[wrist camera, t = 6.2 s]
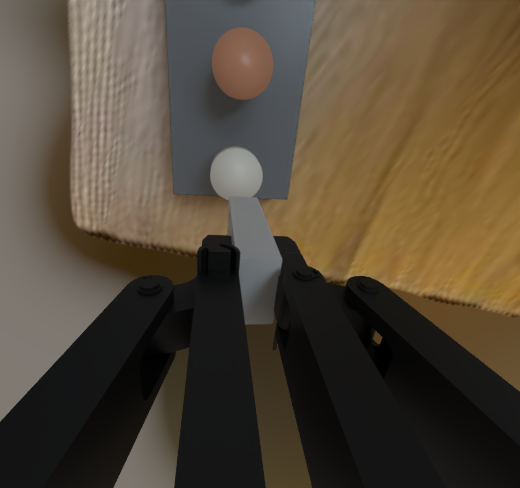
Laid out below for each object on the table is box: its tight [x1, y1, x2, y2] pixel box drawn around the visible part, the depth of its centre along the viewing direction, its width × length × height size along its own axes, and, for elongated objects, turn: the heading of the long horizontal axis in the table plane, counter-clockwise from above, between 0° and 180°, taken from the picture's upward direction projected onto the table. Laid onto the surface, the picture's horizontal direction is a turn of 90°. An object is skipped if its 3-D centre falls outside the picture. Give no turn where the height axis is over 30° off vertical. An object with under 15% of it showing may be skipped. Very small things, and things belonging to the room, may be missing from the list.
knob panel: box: [165, 0, 315, 200], centre depth 27 cm, size 12×23×5 cm, turn 175°
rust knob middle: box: [212, 27, 273, 100], centre depth 24 cm, size 4×4×7 cm
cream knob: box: [210, 145, 263, 201], centre depth 27 cm, size 4×4×7 cm
